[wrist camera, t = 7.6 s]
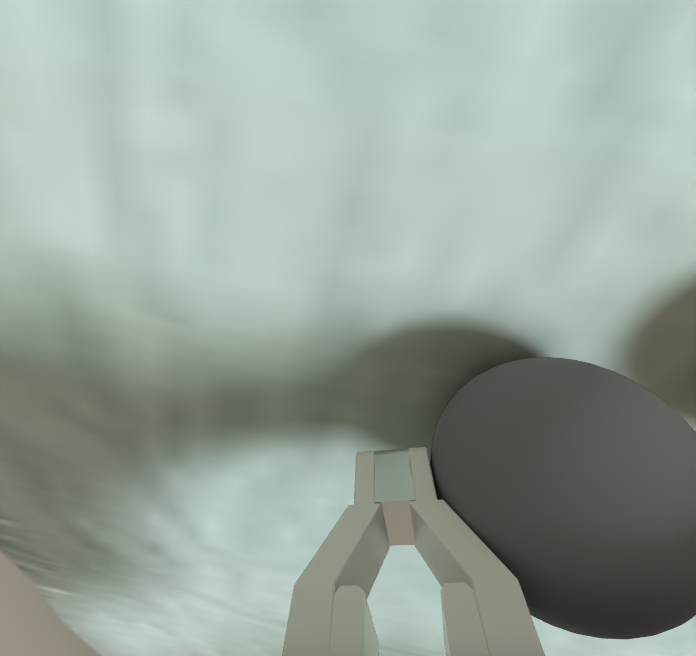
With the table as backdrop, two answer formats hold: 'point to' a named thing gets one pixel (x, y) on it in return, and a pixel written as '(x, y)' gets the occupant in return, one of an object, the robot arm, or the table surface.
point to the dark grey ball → (576, 492)
